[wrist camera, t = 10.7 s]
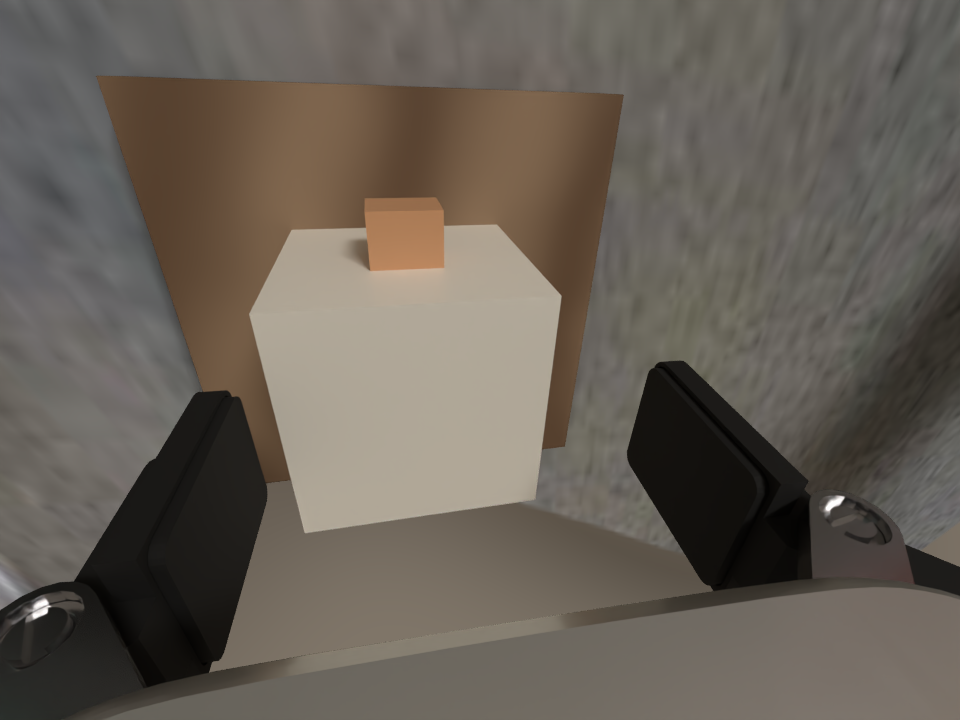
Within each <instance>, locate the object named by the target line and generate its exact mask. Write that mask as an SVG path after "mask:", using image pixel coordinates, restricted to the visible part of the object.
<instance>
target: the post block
mask: <svg viewBox="0 0 960 720" xmlns="http://www.w3.org/2000/svg"><path fill="white" fill-rule="evenodd" d="M96 77H97V80H98V83H99V86H100V89H101V91H102V94H103V97H104V100H105V103H106V106H107V109H108V112H109V115H110V118H111V121H112V124H113V127H114V130H115V133H116V136H117V139H118V142H119V145H120V148H121V151H122V153H123V156H124V159H125V162H126V165H127V168H128V171H129V174H130V177H131V180H132V183H133V186H134V189H135V192H136V195H137V198H138V201H139V204H140V207H141V210H142V213H143V216H144V218H145V221H146V224H147V227H148V230H149V233H150V236H151V239H152V242H153V245H154V248H155V251H156V254H157V257H158V260H159V263H160V266H161V269H162V272H163V275H164V278H165V280H166V283H167V286H168V289H169V292H170V295H171V298H172V301H173V304H174V307H175V310H176V313H177V316H178V319H179V322H180V325H181V328H182V331H183V334H184V337H185V340H186V343H187V345H188V348H189V351H190V354H191V357H192V360H193V363H194V366H195V369H196V372H197V375H198V378H199V381H200V384H201V387H202V390H203V392H207V391H223V390H227V391H229V392H230V394H231V395H232V397H235V396H238V397H239V398H240V399H241V401H242V404H243V408H244V411H245V415H246V418H247V421H248V425H249V428H250V431H251V435H252V438H253V442H254V445H255V448H256V452H257V455H258V459H259V462H260V465H261V469H262V472H263V475H264V479H265V482H266V483H271V482H279V481H287V480H291V478H290V474H289V470H288V466H287V462H286V458H285V454H284V450H283V446H282V442H281V438H280V434H279V430H278V426H277V422H276V418H275V414H274V410H273V406H272V402H271V399H270V395H269V391H268V387H267V383H266V379H265V375H264V371H263V367H262V363H261V359H260V355H259V351H258V347H257V343H256V339H255V335H254V331H253V327H252V324H251V320H250V316H249V313H250V311H251V309H252V307H253V305H254V303H255V301H256V300H257V298H258V296H259V294H260V292H261V290H262V288H263V286H264V284H265V282H266V280H267V278H268V276H269V274H270V272H271V270H272V268H273V266H274V264H275V262H276V260H277V258H278V256H279V254H280V252H281V250H282V248H283V246H284V244H285V242H286V240H287V238H288V236H289V234H290V232H291V230H303V229H342V228H366V223H365V212H364V208H365V198H431V197H436V198H437V200H438V201H439V203H440V205H441V206H442V208H443V210H444V226H458V225H498V226H499V227H500V228H501V230H502V231H503V232H504V233H505V234H506V235H507V236H508V237H509V238H510V239H511V241H512V242H513V243H514V244H515V245H516V246H517V247H518V248H519V249H520V251H521V252H522V253H523V254H524V255H525V256H526V257H527V258H528V259H529V260H530V262H531V263H532V264H533V265H534V266H535V267H536V268H537V269H538V270H539V271H540V273H541V274H542V275H543V276H544V277H545V278H546V279H547V280H548V281H549V283H550V284H551V285H552V286H553V287H554V288H555V289H556V290H557V291H558V292H559V294H560V295H561V296H562V297H561V305H560V312H559V320H558V328H557V335H556V343H555V351H554V358H553V366H552V374H551V381H550V389H549V397H548V404H547V412H546V420H545V427H544V435H543V443H542V449H548V448H556V447H564V446H565V442H566V436H567V430H568V424H569V418H570V412H571V406H572V400H573V394H574V388H575V382H576V376H577V370H578V364H579V358H580V352H581V346H582V340H583V334H584V328H585V322H586V317H587V311H588V305H589V299H590V293H591V287H592V281H593V275H594V269H595V263H596V257H597V251H598V245H599V239H600V233H601V227H602V221H603V215H604V209H605V203H606V197H607V191H608V185H609V179H610V173H611V167H612V161H613V155H614V149H615V143H616V138H617V132H618V126H619V120H620V114H621V108H622V102H623V96H624V95H620V94H601V93H574V92H546V91H518V90H490V89H463V88H435V87H407V86H379V85H351V84H324V83H296V82H268V81H240V80H213V79H185V78H157V77H129V76H96Z"/></svg>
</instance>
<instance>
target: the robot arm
mask: <svg viewBox="0 0 960 720" xmlns="http://www.w3.org/2000/svg"><path fill="white" fill-rule="evenodd" d="M627 458H628V462H629V464H630V466H631V468H632V470H633V471H634V473H635V474H636V476H637V478H638V479H639V481H640V482H641V484H642V486H643V487H644V489H645V491H646V492H647V494H648V495H649V497H650V499H651V500H652V502H653V503H654V505H655V507H656V508H657V510H658V512H659V513H660V515H661V516H662V518H663V520H664V521H665V523H666V524H667V526H668V528H669V529H670V531H671V533H672V534H673V536H674V537H675V539H676V541H677V542H678V544H679V545H680V547H681V549H682V550H683V552H684V554H685V555H686V557H687V558H688V560H689V562H690V563H691V565H692V566H693V568H694V570H695V571H696V573H697V574H698V576H699V578H700V579H701V580H702V582H703V583H705V584H706V585H710V586H711V588H712V589H713V591H712V592H706V593H699V594H692V595H686V596H679V597H673V598H666V599H659V600H652V601H646V602H639V603H633V604H626V605H619V606H613V607H606V608H599V609H593V610H587V611H580V612H574V613H567V614H561V615H554V616H548V617H542V618H535V619H529V620H522V621H516V622H509V623H503V624H497V625H491V626H484V627H477V628H471V629H465V630H458V631H452V632H446V633H440V634H434V635H427V636H421V637H415V638H409V639H402V640H397V641H390V642H384V643H378V644H372V645H365V646H359V647H353V648H347V649H340V650H334V651H328V652H322V653H316V654H310V655H304V656H299V657H293V658H287V659H282V660H276V661H271V662H266V663H259V664H254V665H249V666H243V667H237V668H232V669H226V670H221V671H215V672H210V673H209V671H210V667H211V664H212V662H213V661H219V660H220V659H221V657H222V655H223V653H224V650H225V647H226V644H227V640H228V637H229V633H230V629H231V626H232V622H233V619H234V615H235V612H236V608H237V605H238V601H239V597H240V594H241V590H242V587H243V583H244V580H245V576H246V573H247V569H248V566H249V562H250V559H251V555H252V552H253V548H254V544H255V541H256V538H257V534H258V530H259V527H260V524H261V520H262V516H263V513H264V509H265V506H266V502H267V486H266V482H265V479H264V475H263V472H262V469H261V465H260V462H259V459H258V455H257V452H256V448H255V445H254V442H253V438H252V435H251V431H250V428H249V425H248V421H247V418H246V415H245V411H244V408H243V404H242V401H241V399H240V398H239V397H238V396H235V397H232V395H231V394H230V392H229V391H227V390H223V391H207V392H198V393H196V394H195V395H194V396H193V398H192V399H191V401H190V403H189V404H188V406H187V407H186V409H185V411H184V412H183V414H182V416H181V417H180V419H179V421H178V422H177V424H176V426H175V427H174V429H173V431H172V432H171V434H170V436H169V437H168V439H167V441H166V442H165V444H164V446H163V447H162V449H161V451H160V452H159V454H158V456H157V457H156V459H153V460H152V461H150V462H149V463H148V464H147V465H146V466H145V468H144V469H143V471H142V472H141V474H140V475H139V477H138V479H137V480H136V482H135V484H134V485H133V487H132V488H131V490H130V492H129V493H128V495H127V497H126V498H125V500H124V501H123V503H122V505H121V506H120V508H119V509H118V511H117V513H116V514H115V516H114V518H113V519H112V521H111V522H110V524H109V526H108V527H107V529H106V530H105V532H104V534H103V535H102V537H101V539H100V540H99V542H98V543H97V545H96V547H95V548H94V550H93V551H92V553H91V555H90V556H89V558H88V560H87V561H86V563H85V564H84V566H83V568H82V569H81V571H80V572H79V574H78V576H77V577H76V579H75V581H74V582H59V583H56V584H52V585H48V586H45V587H41V588H39V589H37V590H35V591H33V592H30V593H28V594H26V595H24V596H22V597H20V598H18V599H17V600H15V601H14V602H12V603H11V604H9V605H8V606H6V607H5V608H3V609H1V610H0V720H960V567H958V566H956V565H953V564H951V563H949V562H946V561H944V560H941V559H939V558H937V557H934V556H932V555H929V554H927V553H924V552H922V551H920V550H917V549H915V548H912V547H910V546H907V545H905V543H904V539H903V536H902V534H901V531H900V529H899V527H898V526H897V525H896V524H895V522H894V521H893V520H892V519H891V518H890V517H889V516H888V515H887V514H886V513H884V512H883V511H882V510H881V509H879V508H878V507H877V506H875V505H873V504H871V503H870V502H868V501H866V500H865V499H862V498H860V497H858V496H855V495H853V494H851V493H847V492H843V491H839V490H829V489H825V490H820V491H816V492H815V493H814V494H813V495H811V496H810V495H809V494H808V493H807V492H806V491H805V490H804V488H805V487H806V485H807V483H808V480H807V479H806V478H805V477H804V476H803V475H802V474H801V473H800V472H799V471H798V470H797V469H796V468H795V467H793V466H792V465H791V464H790V463H789V462H788V461H787V460H786V459H785V458H784V457H783V456H782V455H781V454H780V453H779V452H778V451H777V450H776V449H775V448H774V447H773V446H772V445H771V444H770V443H769V442H768V441H767V440H766V439H764V438H763V437H762V436H761V435H760V434H759V433H758V432H757V431H756V430H755V429H754V428H753V427H752V426H751V425H750V424H749V423H748V422H747V421H746V420H745V419H744V418H743V417H742V416H741V415H740V414H739V413H738V412H737V411H736V410H734V409H733V408H732V407H731V406H730V405H729V404H728V403H727V402H726V401H725V400H724V399H723V398H722V397H721V396H720V395H719V394H718V393H717V392H716V391H715V390H714V389H713V388H712V387H711V386H710V385H709V384H708V383H707V382H706V381H704V380H703V379H702V378H701V377H700V376H699V375H698V374H697V373H696V372H695V371H694V370H693V369H692V368H691V367H690V366H689V365H688V364H687V363H686V362H684V361H668V362H659V363H657V364H656V366H655V368H653V369H651V370H650V371H649V373H648V376H647V380H646V383H645V387H644V391H643V395H642V398H641V402H640V406H639V409H638V413H637V417H636V420H635V424H634V428H633V431H632V435H631V439H630V443H629V446H628V450H627Z"/></svg>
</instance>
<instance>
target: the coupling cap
mask: <svg viewBox="0 0 960 720" xmlns="http://www.w3.org/2000/svg"><path fill="white" fill-rule="evenodd" d="M364 212H365V223H366V228H342V229H303V230H291V232H290V234H289V236H288V238H287V240H286V242H285V244H284V246H283V248H282V250H281V252H280V254H279V256H278V258H277V260H276V262H275V264H274V266H273V268H272V270H271V272H270V274H269V276H268V278H267V280H266V282H265V284H264V286H263V288H262V290H261V292H260V294H259V296H258V298H257V300H256V301H255V303H254V305H253V307H252V309H251V311H250V313H249V316H250V320H251V324H252V327H253V331H254V335H255V339H256V343H257V347H258V351H259V355H260V359H261V363H262V367H263V371H264V375H265V379H266V383H267V387H268V391H269V395H270V399H271V402H272V406H273V410H274V414H275V418H276V422H277V426H278V430H279V434H280V438H281V442H282V446H283V450H284V454H285V458H286V462H287V466H288V470H289V474H290V478H291V481H292V485H293V489H294V493H295V497H296V501H297V505H298V509H299V513H300V517H301V521H302V525H303V529H304V532H305V533H310V532H317V531H324V530H331V529H337V528H345V527H351V526H358V525H365V524H372V523H379V522H385V521H392V520H399V519H406V518H412V517H420V516H426V515H433V514H440V513H447V512H454V511H460V510H467V509H473V508H481V507H487V506H494V505H501V504H507V503H515V502H522V501H529V500H535V497H536V489H537V481H538V474H539V466H540V458H541V451H542V443H543V435H544V427H545V420H546V412H547V404H548V397H549V389H550V381H551V374H552V366H553V358H554V351H555V343H556V335H557V328H558V320H559V312H560V305H561V297H562V296H561V295H560V294H559V292H558V291H557V290H556V289H555V288H554V287H553V286H552V285H551V284H550V283H549V281H548V280H547V279H546V278H545V277H544V276H543V275H542V274H541V273H540V271H539V270H538V269H537V268H536V267H535V266H534V265H533V264H532V263H531V262H530V260H529V259H528V258H527V257H526V256H525V255H524V254H523V253H522V252H521V251H520V249H519V248H518V247H517V246H516V245H515V244H514V243H513V242H512V241H511V239H510V238H509V237H508V236H507V235H506V234H505V233H504V232H503V231H502V230H501V228H500V227H499V226H498V225H458V226H444V210H443V208H442V206H441V205H440V203H439V201H438V200H437V198H436V197H431V198H365V208H364Z"/></svg>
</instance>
